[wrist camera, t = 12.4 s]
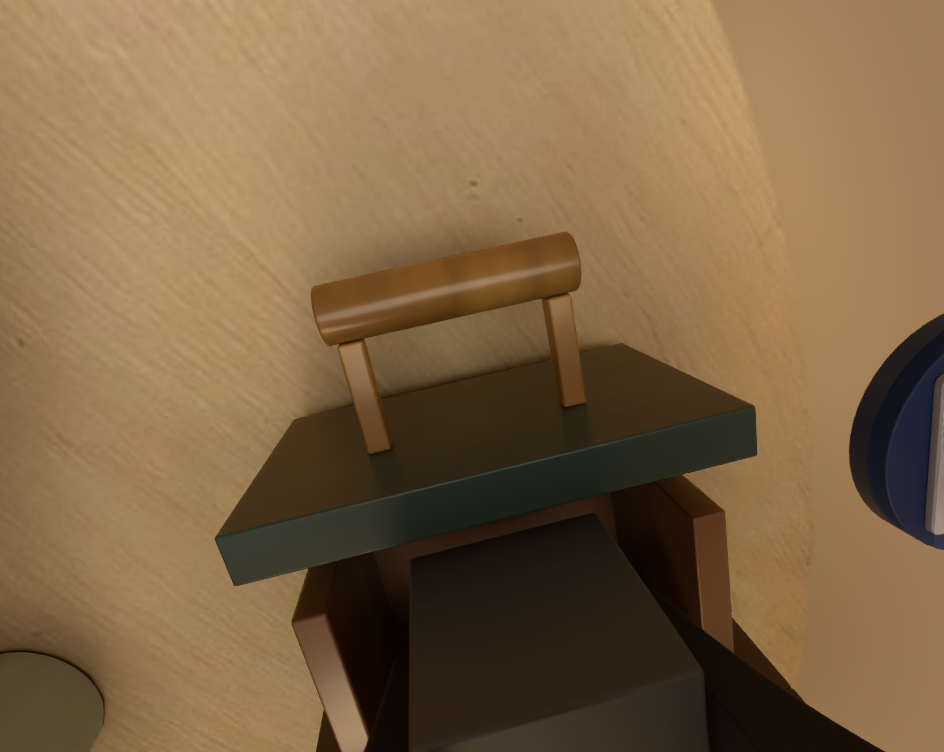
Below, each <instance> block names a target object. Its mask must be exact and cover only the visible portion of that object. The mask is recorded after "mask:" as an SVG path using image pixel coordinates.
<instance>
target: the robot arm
mask: <svg viewBox="0 0 944 752" xmlns="http://www.w3.org/2000/svg"><path fill="white" fill-rule="evenodd" d="M925 528H926V529H927V530H928V531H930V532H932V533H933V534H936V535H939V534H944V374H942V375H941V376H939V377H938V378H937V380H936V381H935V385H934V396H933V411H932V425H931V439H930V454H929V468H928V482H927V496H926V511H925ZM649 591H650V593H651V594H652V596H653V597H654V599H655V600H656V602H657V603H658V605H659V606H660V607H661V609H662V610H663V612H664V613H665V615H666V616H667V618H668V619H669V621H670V622H671V624H672V625H673V626H674V628H675V629H676V631H677V632H678V634H679V635H680V637H681V638H682V640H683V641H684V643H685V644H686V645H687V647H688V648H689V650H690V651H691V653H692V654H693V656H694V657H695V659H696V660H697V662H698V663H699V664H700V666H701V667H702V669H703V672H704V681H705V692H706V704H707V715H708V727H709V738H710V749H711V752H885V751H883V750H881V749H879V748H877V747H876V746H874V745H872V744H870V743H869V742H867V741H865V740H864V739H862V738H860V737H859V736H857V735H855V734H854V733H852V732H850V731H849V730H847V729H845V728H844V727H842V726H840V725H839V724H837V723H835V722H834V721H832V720H831V719H829V718H827V717H826V716H824V715H823V714H821V713H820V712H818V711H816V710H815V709H813V708H812V707H810V706H809V705H807V704H806V703H804V702H803V701H801V700H800V699H798V698H797V697H795V696H794V695H792V694H791V693H789V692H788V691H786V690H785V689H783V688H782V687H780V686H779V685H777V684H776V683H775V682H773V681H772V680H770V679H769V678H767V677H766V676H765V675H763V674H762V673H760V672H759V671H758V670H756V669H755V668H753V667H752V666H751V665H749V664H748V663H747V662H745V661H744V660H743V659H741V658H740V657H739V656H737V655H736V654H734V653H733V652H732V651H730V650H729V649H728V648H726V647H725V646H724V645H722V644H721V643H720V642H719V641H717V640H716V639H715V638H713V637H712V636H711V635H709V634H708V633H707V632H706V631H704V630H703V629H702V628H701V627H699V626H698V625H697V624H696V623H694V622H693V621H692V620H691V619H689V618H688V617H687V616H686V615H685V614H683V613H682V612H681V611H680V610H679V609H677V608H676V607H675V606H674V605H672V604H671V603H670V602H669V601H668V600H667V599H665V598H664V597H663V596H662V595H661V594H659V593H658V592H657V591H655V590H654V589H649ZM364 752H409V653H407V654H404V655H400V656H397V657H396V658H395V659H394V661H393V663H392V667H391V670H390V674H389V678H388V681H387V684H386V688H385V691H384V694H383V698H382V701H381V704H380V707H379V710H378V713H377V716H376V719H375V722H374V725H373V728H372V730H371V733H370V736H369V739H368V741H367V744H366V747H365V749H364Z"/></svg>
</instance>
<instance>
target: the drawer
mask: <svg viewBox="0 0 944 752" xmlns="http://www.w3.org/2000/svg"><path fill="white" fill-rule="evenodd" d="M580 283H581V262H580V257H579V252H578V249H577V246H576V243H575V241H574V239H573V237H572V236H571V234H570V233H568V232H561V233H557V234H552V235H547V236H543V237H538V238H534V239H529V240H524V241H520V242H515V243H511V244H506V245H501V246H497V247H492V248H487V249H483V250H478V251H474V252H469V253H464V254H460V255H455V256H451V257H446V258H441V259H437V260H432V261H427V262H423V263H418V264H414V265H409V266H404V267H400V268H395V269H391V270H386V271H381V272H377V273H372V274H367V275H363V276H358V277H354V278H349V279H344V280H340V281H335V282H331V283H326V284H321V285H317V286H314V287H312V290H311V303H312V309H313V313H314V317H315V321H316V324H317V327H318V330H319V332H320V334H321V337H322V338H323V340H324V342H325V343H326V344H327V345H329V346H333V345H337V344H339V345H338V348H337V349H338V353H339V356H340V360H341V363H342V367H343V370H344V373H345V377H346V380H347V384H348V387H349V391H350V394H351V397H352V401H353V404H354V406H350V407H345V408H341V409H337V410H333V411H328V412H324V413H320V414H315V415H311V416H307V417H302V418H298V419H295V420H294V421H293V422H292V423H291V425H290V426H289V428H288V429H287V431H286V432H285V434H284V435H283V437H282V438H281V440H280V441H279V443H278V444H277V446H276V447H275V449H274V450H273V452H272V453H271V455H270V456H269V458H268V459H267V461H266V462H265V464H264V465H263V467H262V468H261V470H260V471H259V473H258V474H257V476H256V477H255V479H254V480H253V482H252V483H251V485H250V486H249V488H248V489H247V491H246V492H245V494H244V495H243V497H242V498H241V500H240V501H239V503H238V504H237V506H236V507H235V509H234V510H233V512H232V513H231V514H230V516H229V517H228V519H227V520H226V522H225V523H224V525H223V526H222V528H221V529H220V531H219V532H218V534H217V535H216V537H215V541H216V543H217V546H218V548H219V551H220V553H221V555H222V558H223V560H224V563H225V565H226V568H227V570H228V572H229V575H230V577H231V580H232V582H233V584H234V586H239V585H243V584H247V583H251V582H255V581H259V580H263V579H267V578H271V577H275V576H279V575H283V574H287V573H291V572H295V571H299V570H303V569H307V568H308V571H307V574H306V578H305V581H304V584H303V587H302V590H301V593H300V596H299V600H298V603H297V606H296V609H295V612H294V615H293V618H292V622H291V623H292V626H293V629H294V632H295V634H296V637H297V639H298V642H299V645H300V647H301V650H302V653H303V655H304V658H305V660H306V663H307V666H308V668H309V671H310V673H311V676H312V679H313V681H314V684H315V686H316V689H317V692H318V694H319V697H320V700H321V702H322V705H323V707H324V710H325V713H326V715H327V718H328V720H329V723H330V726H331V728H332V731H333V733H334V736H335V739H336V741H337V744H338V747H339V749H340V752H364V749H365V747H366V744H367V741H368V739H369V736H370V733H371V730H372V728H373V725H374V722H375V719H376V716H377V713H378V710H379V707H380V704H381V701H382V698H383V694H384V691H385V688H386V684H387V681H388V678H389V674H390V670H391V667H392V663H393V661H394V659H395V658H396V657H397V656H400V655H404V654H407V653H409V613H410V560H411V559H412V558H415V557H419V556H423V555H427V554H431V553H435V552H439V551H443V550H447V549H451V548H455V547H458V546H462V545H466V544H470V543H474V542H478V541H482V540H486V539H490V538H494V537H498V536H502V535H506V534H510V533H514V532H518V531H522V530H526V529H530V528H534V527H538V526H541V525H545V524H549V523H553V522H557V521H561V520H565V519H569V518H573V517H577V516H581V515H585V514H589V513H596V514H597V515H598V517H599V518H600V520H601V521H602V523H603V524H604V526H605V527H606V529H607V530H608V531H609V533H610V534H611V536H612V537H613V539H614V540H615V542H616V543H617V545H618V546H619V548H620V549H621V550H622V552H623V553H624V555H625V556H626V558H627V559H628V561H629V562H630V564H631V565H632V567H633V568H634V569H635V571H636V572H637V574H638V575H639V577H640V578H641V580H642V581H643V583H644V584H645V586H646V587H647V588H648V590H649V589H654V590H655V591H657V592H658V593H659V594H661V595H662V596H663V597H664V598H665V599H667V600H668V601H669V602H670V603H671V604H672V605H674V606H675V607H676V608H677V609H679V610H680V611H681V612H682V613H683V614H685V615H686V616H687V617H688V618H689V619H691V620H692V621H693V622H694V623H696V624H697V625H698V626H699V627H701V628H702V629H703V630H704V631H706V632H707V633H708V634H709V635H711V636H712V637H713V638H715V639H716V640H717V641H719V642H720V643H721V644H722V645H724V646H725V647H726V648H728V649H729V650H730V651H732V652H733V653H734V645H733V629H732V613H731V598H730V582H729V567H728V551H727V536H726V520H725V511H724V510H723V509H722V508H721V507H719V506H718V505H717V504H716V503H715V502H713V501H712V500H711V499H710V498H709V497H708V496H706V495H705V494H704V493H703V492H702V491H701V490H699V489H698V488H697V487H696V486H695V485H694V484H692V483H691V482H690V481H689V480H688V479H687V478H685V477H684V476H683V475H682V474H686V473H690V472H694V471H698V470H702V469H706V468H710V467H714V466H718V465H722V464H726V463H730V462H734V461H738V460H741V459H745V458H749V457H753V456H756V455H757V436H756V412H755V406H754V405H752V404H749V403H747V402H745V401H743V400H741V399H739V398H737V397H735V396H733V395H730V394H728V393H726V392H724V391H722V390H720V389H718V388H716V387H714V386H711V385H709V384H707V383H705V382H703V381H701V380H699V379H697V378H694V377H692V376H690V375H688V374H686V373H684V372H682V371H680V370H678V369H675V368H673V367H671V366H669V365H667V364H665V363H663V362H661V361H659V360H656V359H654V358H652V357H650V356H648V355H646V354H644V353H642V352H640V351H637V350H635V349H633V348H631V347H629V346H627V345H625V344H622V343H621V344H617V345H612V346H608V347H604V348H599V349H595V350H591V351H587V352H582V353H579V347H578V340H577V333H576V326H575V319H574V313H573V306H572V299H571V295H570V294H567V293H569V292H573V291H576V290H577V289H578V288H579V286H580ZM538 299H542V304H543V310H544V316H545V322H546V328H547V334H548V340H549V347H550V353H551V359H552V360H548V361H544V362H539V363H535V364H531V365H526V366H522V367H518V368H513V369H509V370H505V371H500V372H496V373H492V374H488V375H483V376H479V377H475V378H470V379H466V380H462V381H457V382H453V383H449V384H444V385H440V386H436V387H432V388H427V389H423V390H419V391H414V392H410V393H406V394H401V395H397V396H393V397H389V398H384V399H381V397H380V393H379V389H378V386H377V382H376V378H375V375H374V371H373V367H372V364H371V360H370V356H369V353H368V349H367V345H366V342H365V339H364V338H368V337H373V336H377V335H382V334H386V333H391V332H395V331H399V330H404V329H408V328H413V327H417V326H422V325H426V324H431V323H435V322H440V321H444V320H448V319H453V318H457V317H462V316H466V315H471V314H475V313H480V312H484V311H489V310H493V309H497V308H502V307H506V306H511V305H515V304H520V303H524V302H529V301H533V300H538Z"/></svg>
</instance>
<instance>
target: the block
mask: <svg viewBox="0 0 944 752" xmlns="http://www.w3.org/2000/svg"><path fill="white" fill-rule="evenodd" d="M409 752H711V749H710V738H709V727H708V715H707V704H706V692H705V681H704V672H703V669H702V667H701V666H700V664H699V663H698V662H697V660H696V659H695V657H694V656H693V654H692V653H691V651H690V650H689V648H688V647H687V645H686V644H685V643H684V641H683V640H682V638H681V637H680V635H679V634H678V632H677V631H676V629H675V628H674V626H673V625H672V624H671V622H670V621H669V619H668V618H667V616H666V615H665V613H664V612H663V610H662V609H661V607H660V606H659V605H658V603H657V602H656V600H655V599H654V597H653V596H652V594H651V593H650V591H649V590H648V588H647V587H646V586H645V584H644V583H643V581H642V580H641V578H640V577H639V575H638V574H637V572H636V571H635V569H634V568H633V567H632V565H631V564H630V562H629V561H628V559H627V558H626V556H625V555H624V553H623V552H622V550H621V549H620V548H619V546H618V545H617V543H616V542H615V540H614V539H613V537H612V536H611V534H610V533H609V531H608V530H607V529H606V527H605V526H604V524H603V523H602V521H601V520H600V518H599V517H598V515H597V514H596V513H589V514H585V515H581V516H577V517H573V518H569V519H565V520H561V521H557V522H553V523H549V524H545V525H541V526H538V527H534V528H530V529H526V530H522V531H518V532H514V533H510V534H506V535H502V536H498V537H494V538H490V539H486V540H482V541H478V542H474V543H470V544H466V545H462V546H458V547H455V548H451V549H447V550H443V551H439V552H435V553H431V554H427V555H423V556H419V557H415V558H412V559H411V560H410V613H409Z"/></svg>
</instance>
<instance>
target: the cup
mask: <svg viewBox="0 0 944 752" xmlns="http://www.w3.org/2000/svg"><path fill="white" fill-rule="evenodd" d="M103 719H104V710H103V702H102V698H101V696H100V694H99V692H98V690H97V689H96V687H95V686H94V684H93V683H92V682H91V681H90V679H89V678H88V677H87V676H86V675H84V674H83V673H82V672H80V671H79V670H77V669H76V668H75V667H73V666H71V665H69V664H67V663H66V662H63V661H61V660H59V659H56V658H53V657H49V656H46V655H41V654H35V653H26V652H13V653H3V654H0V752H90V750H91V748H92V746H93V744H94V742H95V740H96V738H97V736H98V734H99V732H100V730H101V728H102V724H103Z"/></svg>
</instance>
